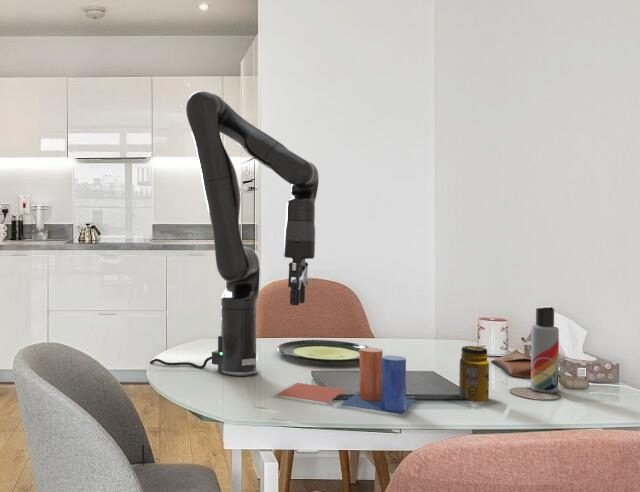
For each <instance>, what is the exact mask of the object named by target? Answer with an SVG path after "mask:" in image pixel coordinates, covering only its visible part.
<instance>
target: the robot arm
mask: <svg viewBox="0 0 640 492" xmlns="http://www.w3.org/2000/svg"><path fill="white" fill-rule="evenodd" d="M185 106H186V108H185V111H186V112H185V113H186V118H187V122H188V125H189V128H190V132H191V135H192V137H193V141H194V144H195V149H196V154H197V160H198V165H199V170H200V175H201V182H202V186H203V187H202V188H203V191H204V195H205V196H204V197H205V201H206V205H207V210H208V215H209V220H210V225H211V229H212V234H213V242H214V244H213V245H214V253H215V254H214V255H215V263H216V264H215V265H216V269H217V272H218V274H219V276H220V277H221V278H222V279H223V280H224V281H226V284H225V285H226V287H225V290H224V292H223V294H222V296H221V298H220V335H218V336H217V349H216V350H213V351H212V352H211V356H209V357H207V358H206V359H205V360H204V361H203V364H202V365H199V364H196V363H193V362H190V361H189V362H188V361H180V362H167V361H165V360H162V359H159V358H153V359H154V360H153V359H152V360H151V361H150V362H149V364H154V363H155V362H158V363H160V364H162V365H165V366H171V367H173V366H191V367H194V368H195V369H200V370H201V369H204V368H206V366H207V364H208V362H209V361H211V364H212V365H217V373H221V374H224V375H228V376H234V377H246V376H252V375H255V374H257V300H258V297H259V294H260V273H261V271H260V269H261V267H260V260H259V257H258V254H257V252H256V251H255V250H254V249H252V248H251V247H249V246H244V244H243V240H242V236H241V232H240V225H239V224H240V211H241V190H240V183H239V179H238V175H237V172H236V171H237V170H236V168H235V166H234V164H233V162H232V159H231V157H230V155H229V154H228V151H227V149H226V147H225V145H224V143H223V141H222V137H221V134H223V135H224V136H226V137H228V138H229V139H231V140H232V141H234V143H236V144H237V145H238V146H239V147H240V148H241V149H242V150H243V151H245V152H246V153H247V154H248V155H249V156H250V157H251V158H253V159H254V160H256V161H257V162H259V163H260V164H262V165H263V166H265V167H266V168H268V169H269V170H271V171H273V172H274V173H275V174H276V175H278V177H280V178H281V179H282V180H284V181H285V182H287V183H288V184H289V185H291V188H290V198H289V199H288V200H287V203H286V211H285V212H286V213H285V226H284V240H283V241H284V242H283V257H284V258H286V259H292V261H291V262H289V263H288V280H287V282H288V283H287V286H288V288H289V290H290V291H289V304H290V306H299V305H300V304H305V302H306V288H307V286H308V283H309V282H308V277H309V276H308V270H309V262H306V259H307V260H312V259H314V258H315V253H316V251H315V249H316V224H315V221H316V220H315V219H316V200H317V195H318V191H319V190H318V188H319V182H320V181H319V170H318V168H317V166H316V165H315V164H314V163H312V162H310V161H308V160H307V159H305V158H303V157H301V156H300V155H298V154H297V153H294V152H293V151H291V150H290V149H288V147H287V146H285V145H284V144H283V143H282V142H280V141H278V140H277V139H276V138H274V137H272V136H271V135H269V134H268V133H266V132H264V131H263V130H261V129H260V128H258V127H256V126H255V125H254V124H251V123H250V122H249V121H247V120H246V119H244V117H242V116H241V115H239V113H237V112H236V111H235V110H234V109H233V108H232V106H230V105H229V104H228V103H227V102H226V101H225V100H224V99H223V98H222V97H221V96H219V95H217V94H214V93H211V92H209V91H203V90H200V91H196V92H193V93H192V94H191V95H190V96H189V98H188V100H187V101H186V105H185ZM145 461H146V460H145V444H141V465H142V464H143V465H144V464H145V463H146V462H145ZM145 465H146V464H145Z"/></svg>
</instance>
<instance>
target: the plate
mask: <svg viewBox="0 0 640 492" xmlns="http://www.w3.org/2000/svg"><path fill="white" fill-rule="evenodd" d="M366 347H369V346H368V345H365V344H361V343H360V344H359V343H355V342H348V341H341V340H329V339H327V340H326V339H302V340H293V341H286V342H284V343H281V344H279V345H278V346H277V347H276V349H277V350H278V351H279V353H281V354H283V355H285V356H288V357H291V358H295V359H299V360H302V361H309V362H318V363H353V362H359V355H360V348H366Z"/></svg>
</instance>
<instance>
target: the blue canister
mask: <svg viewBox="0 0 640 492" xmlns="http://www.w3.org/2000/svg"><path fill="white" fill-rule="evenodd" d="M406 399H407V358H406V357H405V356H401V355H392V354H390V355H389V354H387V355H383V356H382V357H381V408H382V409H383V410H385V411H389V412H404V411H405V410H406ZM406 411H407V410H406ZM406 411H405V412H406ZM389 412H388V413H389ZM405 412H404V413H405Z"/></svg>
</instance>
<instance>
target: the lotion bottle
mask: <svg viewBox="0 0 640 492" xmlns="http://www.w3.org/2000/svg"><path fill="white" fill-rule="evenodd" d="M559 334H560V331H559V327H557V326H555V309H554V308H553V306H546V307H545V306H544V307H536V308H535V325H531V334H530V341H531V342H530V344H531V345H530V349H531V350H530V358H531V378H530V388H531V390H533V391H536V392H539V393H546V394H553V393H557V392H558V391H559V356H560V355H559V353H560V352H559V351H560V350H559V348H560V347H559V345H560V344H559V343H560V341H559V340H560V337H559V336H560V335H559Z"/></svg>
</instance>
